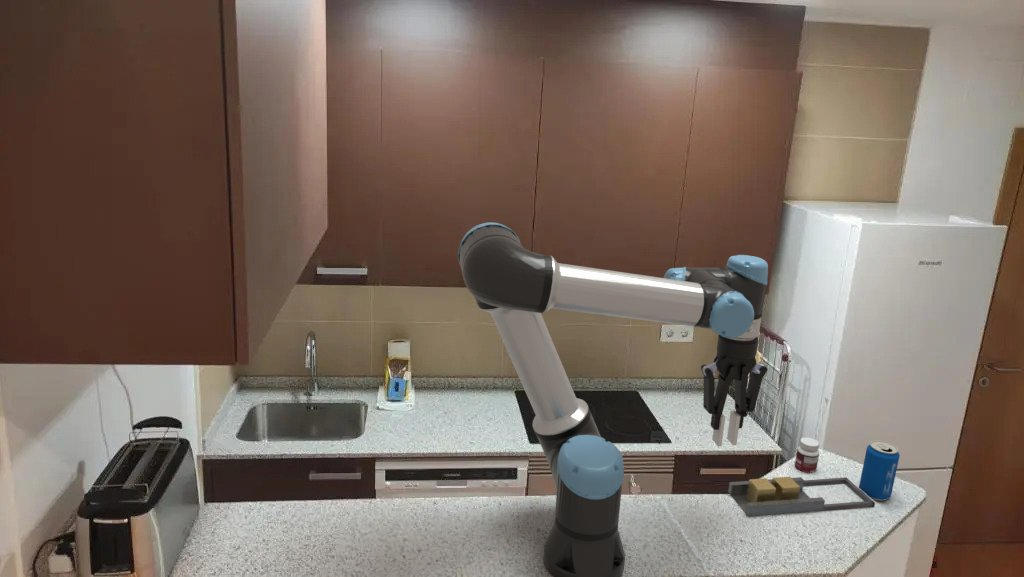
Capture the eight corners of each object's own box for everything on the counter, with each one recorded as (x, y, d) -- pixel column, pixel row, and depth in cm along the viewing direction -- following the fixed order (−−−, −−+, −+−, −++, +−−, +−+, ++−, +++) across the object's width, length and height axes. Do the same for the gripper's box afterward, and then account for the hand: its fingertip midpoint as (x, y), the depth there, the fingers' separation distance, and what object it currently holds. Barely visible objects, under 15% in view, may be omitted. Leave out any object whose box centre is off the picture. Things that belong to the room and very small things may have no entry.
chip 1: (755, 508, 149) (758, 489, 148) (746, 497, 153) (749, 479, 151) (773, 507, 150) (776, 488, 148) (763, 496, 153) (766, 478, 152)
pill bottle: (791, 467, 169) (796, 435, 166) (812, 469, 168) (817, 437, 166) (796, 477, 164) (801, 445, 162) (817, 480, 164) (823, 447, 161)
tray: (821, 517, 150) (823, 506, 149) (796, 490, 159) (797, 480, 158) (872, 513, 152) (875, 502, 151) (844, 487, 161) (846, 477, 160)
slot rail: (747, 522, 147) (749, 506, 145) (727, 498, 155) (729, 482, 154) (821, 517, 150) (824, 500, 148) (798, 493, 158) (801, 477, 157)
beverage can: (872, 504, 155) (882, 455, 151) (851, 488, 161) (861, 440, 157) (897, 500, 156) (907, 452, 153) (875, 484, 162) (885, 437, 159)
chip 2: (779, 506, 150) (782, 488, 149) (769, 496, 154) (772, 477, 152) (796, 505, 151) (800, 486, 149) (786, 494, 154) (789, 476, 153)
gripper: (709, 342, 134) (695, 453, 140) (785, 340, 136) (768, 449, 143) (693, 329, 141) (681, 435, 147) (766, 327, 143) (750, 431, 150)
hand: (724, 442), depth 145 cm, fingers open, 3 cm apart
